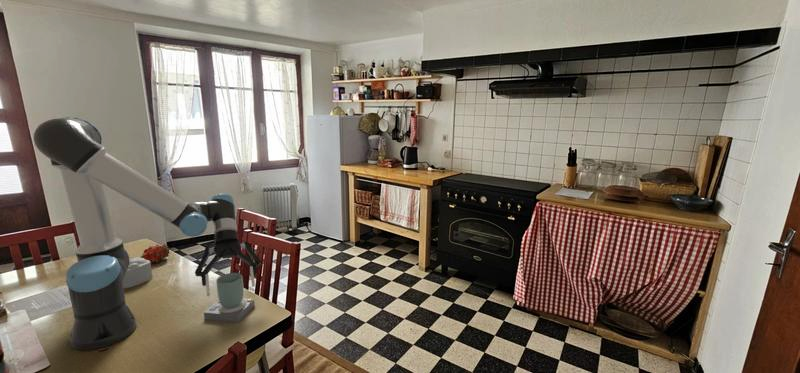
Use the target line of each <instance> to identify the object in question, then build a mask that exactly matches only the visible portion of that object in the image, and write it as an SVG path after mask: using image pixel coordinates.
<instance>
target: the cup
mask: <svg viewBox="0 0 800 373" xmlns="http://www.w3.org/2000/svg"><path fill="white" fill-rule="evenodd" d="M215 282H216V292H217V298H218V300H219V302H220V304H221V305H222V306H223V307H225V308H233V307H236V306H238V305H239V304H240V303H241V302H242V300H243V298H244V291H245V290H244V289H245V288H244V278H243V275H242V274H241V273H239V272H229V273H226V274H222V275H220V276H218V278H216V281H215Z"/></svg>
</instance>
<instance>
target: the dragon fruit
mask: <svg viewBox="0 0 800 373" xmlns="http://www.w3.org/2000/svg"><path fill="white" fill-rule="evenodd" d="M169 248H170V247H169V246H167V245H165V244H162V245H161V244H155V245H152V246H149V247H148V248H146V249H144V250H143V253H142V254H141V257H140V258H144V259H145V260H149V261H150V263H151V264H153V263H156V264H159V263H160V262H162V261H164V259H166V258H169V256H170V250H171V249H169Z"/></svg>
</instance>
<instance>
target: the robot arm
mask: <svg viewBox="0 0 800 373" xmlns="http://www.w3.org/2000/svg"><path fill="white" fill-rule="evenodd" d="M102 140H103V138H102V135H101V132H100V131H99V129H98V128H97V127H96V126H95V125H94V124H93V123H91V122H89V121H87V120H85V119H82V118H80V117H79V118H78V117H69V116H68V117H61V118H51V119H49V120H46V121H43V122H42V123H40V124H39V125H38V126H37V128H36V129H35V130H34V133H33V142H34V145H35V147H36V148H37V150H38V151H39V152H40V153H41V154H42V155H44V156H45V157H47V158H48V159H50V160H49V161H50V162H51V166H52V167H54V168H55V169H58V170H59V171H60V172H61V173H60V174H61V177H62V180H63V184H64V188H65V192H66V195H67V199H68V203H69V206H70V211H71V215H72V218H73V222H74V225H75V229H76V233H77V236H78V241H79V245H78V247H77V248H76V249H75V255H76V259H77V262H75V263H73V264H71V266H69V267H68V269H67V270H66V272H65V273H66V278H65V282H66V286H67V288H68V292H69V297H70V298H69V299H70V303H71V307H72V312H73V316H74V317H73V318H74V321H73V325H72V332H71V334H70V336H69V341H70V346H71V348H72V349H73V350H77V351H92V350H99V349H101V348H104V347H108V346H111V345H113V344H115V343H118V342H120V341H122V340H124V339H125V338H127V337H129V335H131V334H132V333H133V332H134V331H135V329H136V327H137V320H136V319H137V318H136V317H135V315H134V314H133V312H132V310H130V308H129V306H128V305H127V303H126V298H125V290H124V289H123V279H124V276H125V273H126V271H127V269H128V267H129V262H130V260H131V259H130V256H129V253H128V252H127V250H126V249H125V246H124V243H123V242H124V241H123V239H121V238H118V237H117V236H116V235H115V234H116V233H115V230H114V226H113V225H114V224H113V221H112V218H111V217H112V216H111V212H110V209H109V208H110V207H109V205H108V200H107V196H106V195H107V194H106V192H105V187H104V186H106V187H107V188H110V189H111V190H113V191H115V192H116V193H118V194H120V195H122V196H123V197H125V198H127V199H129V200H130V201H132V202H134V203H135V204H138V205H139V206H141V207H142V208H144V209H146V210H148V211H150V212H151V213H153V214H155V215H156V216H158V217H160V218H162V219H163V220H165V221H167V222H168V223H170V224H172V225H174V226H175V227H177V228H179V230H180V232H182V234H183V235H184V236H187V237H189V238H191V237H192V238H194V237H199V236H201V235H202V234H203V233H205V232H206V230H207V228H208V222H212V223H213V224H212V225H213V226H212V227H213V234H214V235H213V236H214V237H213V238H214V247H209V246H206V247H204V254H203V256H202V258H201V260H200V261H199V263H198V265H197V267H196V269H195V271H194V274H195V277H201V285H202V286H203V287H205V289H206V296H207V297H210V295H211V293H210V280H209V273H210V272H211V271H212V269H213V268H214V267H215V266H216V264H217V263H218V262H219V261H220V260H221V259H223V260H225V259H228V258H234V257H236V258H237V259H240V260H241V261H243V263H245V264H246V265H248V266H249V272H250V278H251V279H250V281H251V287H252V288H253V287H255V285H256V283H255V277H256V276H257V274H258V271H257V267H258V266H261V262H262V261H261V259H260V258H259V257H258V255H257V254H256V253H255V251H254V250H253V249H252V248H251V247H250V244H249V241H247V240H245V241H244V242H243V243H240V242H239V235H238V225H237V220H236V209H235V203H234V198H233V196H232V195H230V194H229V193H219V194H214V195H213V196H212V197H211V200H208V201H207V200H204V201H203V200H202V201H184V200H183V199H181V198H179V197H178V196H176V195H174V194H173V193H171V192H170V191H168V190H167V189H165V188H164V187H161V186H160V185H158V184H157V183H156V182H154V181H152V179H151V180H150V179H149V178H147V177H146V176H144V175H142V174H141V173H139V172H138V171H136V170H135V169H133V168H131V167H130V166H129V165H127V164H125V163H123V162H122V161H121V160H118V158H115V157H114V156H112V155H111V154H109V153H108V152H107V149H106V147H105V146H104V145H102ZM241 248H242V249H244V250H245V251H246V253H247V254H248V255H249V257H250V258H249V257H248V256H247V255H246V254H244V253H242V252H241V250H240V249H241ZM213 252H214V253H215V255H214V256H213V258H212V259H211V260H210V261H209V262H208V263H207V261H208V259H209V257H210V255H212V253H213ZM206 263H207V265H206ZM205 265H206V266H205ZM204 267H205V268H204Z"/></svg>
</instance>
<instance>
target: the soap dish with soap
mask: <svg viewBox="0 0 800 373" xmlns="http://www.w3.org/2000/svg"><path fill="white" fill-rule="evenodd" d="M254 307H255V299H254V298H245V297H243V300H242V302H241V303H240V304H239V305H238V306H236V307H233V308H225V307H223V306H222V305H221V304H220V302H219V299H218V300H216V301H215V302H214V303H213V304H211V305H210V307H208V308H207V309H206V310H205V311H204V312H203V319H204V320H210V321H220V322H221V321H222V322H231V323H234V322H235V323H239V322H240V321H241V320H243V319H244V317H245V316H247V314H248V313H249V312H250V311H251V310H252V309H253V308H254Z"/></svg>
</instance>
